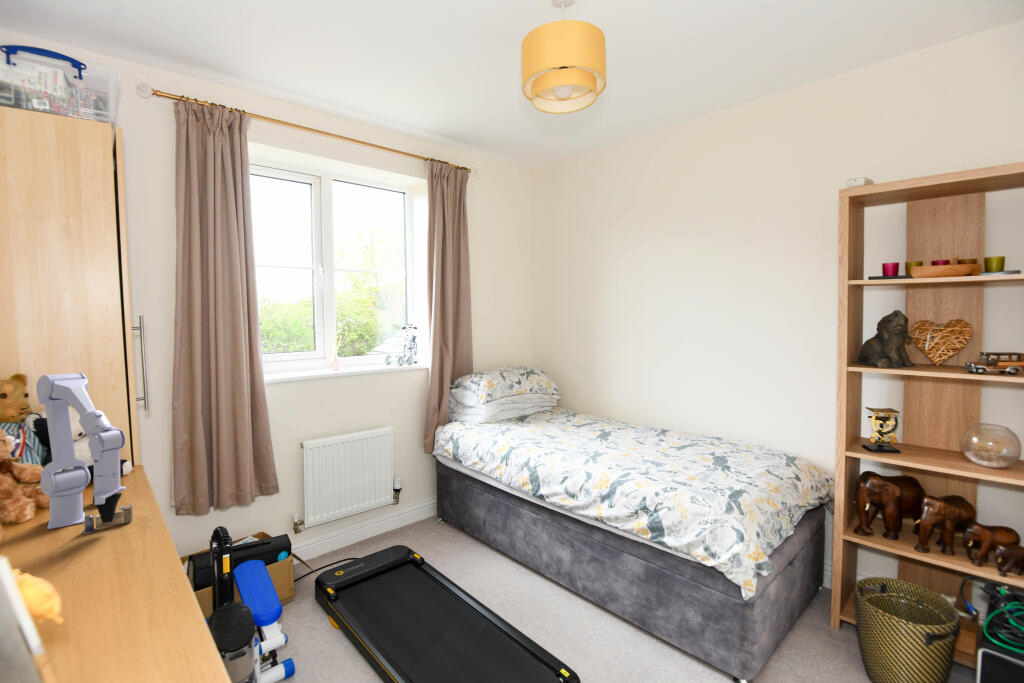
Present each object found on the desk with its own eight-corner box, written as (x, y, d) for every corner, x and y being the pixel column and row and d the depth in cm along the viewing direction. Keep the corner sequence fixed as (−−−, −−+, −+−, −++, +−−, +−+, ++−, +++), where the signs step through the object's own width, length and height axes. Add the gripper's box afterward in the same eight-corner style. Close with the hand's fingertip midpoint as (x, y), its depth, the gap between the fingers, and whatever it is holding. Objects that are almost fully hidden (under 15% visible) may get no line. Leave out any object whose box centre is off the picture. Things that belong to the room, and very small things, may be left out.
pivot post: (81, 531, 137) (81, 515, 137) (96, 528, 140) (96, 513, 139) (81, 535, 135) (81, 519, 135) (97, 532, 137) (96, 516, 137)
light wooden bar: (96, 530, 138) (96, 515, 138) (95, 528, 139) (95, 513, 139) (130, 522, 144) (130, 507, 144) (129, 520, 145) (129, 506, 145)
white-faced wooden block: (119, 522, 144) (119, 507, 144) (132, 519, 146) (131, 504, 146) (119, 523, 143) (119, 508, 143) (132, 520, 145) (132, 506, 145)
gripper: (117, 479, 131) (118, 528, 132) (131, 465, 144) (132, 510, 145) (84, 482, 128) (84, 533, 129) (101, 467, 141) (102, 514, 142)
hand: (107, 521), depth 137 cm, fingers closed
